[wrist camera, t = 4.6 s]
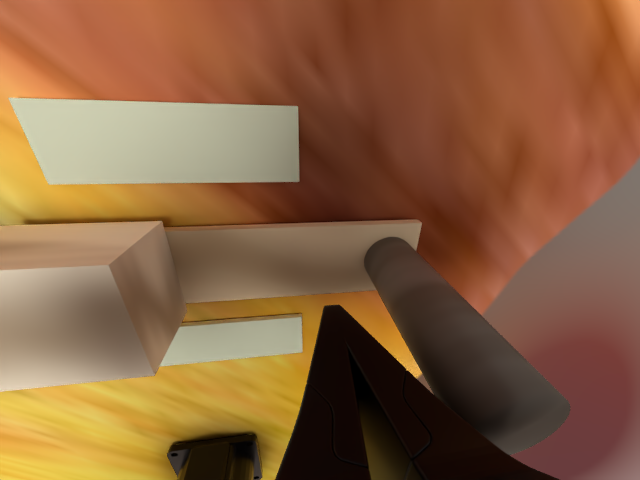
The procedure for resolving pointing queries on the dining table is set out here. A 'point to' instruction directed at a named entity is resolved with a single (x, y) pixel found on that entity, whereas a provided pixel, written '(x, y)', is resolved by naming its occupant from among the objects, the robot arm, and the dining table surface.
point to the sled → (249, 283)
